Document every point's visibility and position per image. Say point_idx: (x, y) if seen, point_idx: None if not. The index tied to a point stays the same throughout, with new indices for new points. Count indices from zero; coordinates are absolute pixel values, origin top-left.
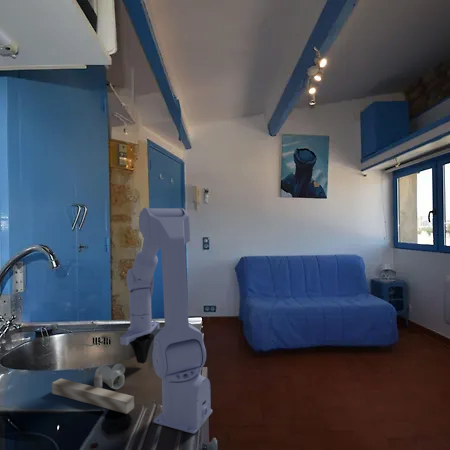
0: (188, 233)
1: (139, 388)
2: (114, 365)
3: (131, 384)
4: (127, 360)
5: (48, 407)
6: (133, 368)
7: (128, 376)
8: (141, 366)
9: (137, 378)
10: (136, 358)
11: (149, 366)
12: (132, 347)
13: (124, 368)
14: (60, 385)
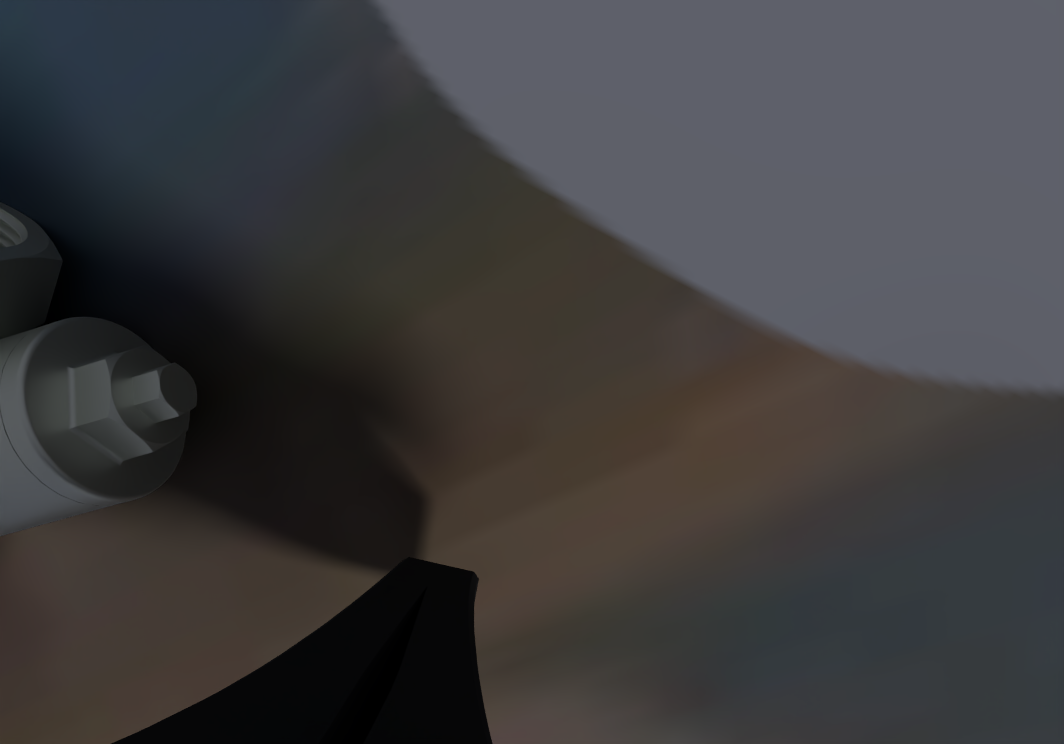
0: None
1: (26, 718)
2: (11, 367)
3: (55, 619)
4: (624, 259)
5: None
6: (391, 477)
7: (186, 513)
8: (471, 552)
9: (182, 627)
10: (373, 587)
11: (493, 646)
12: (179, 716)
13: (108, 506)
14: None
